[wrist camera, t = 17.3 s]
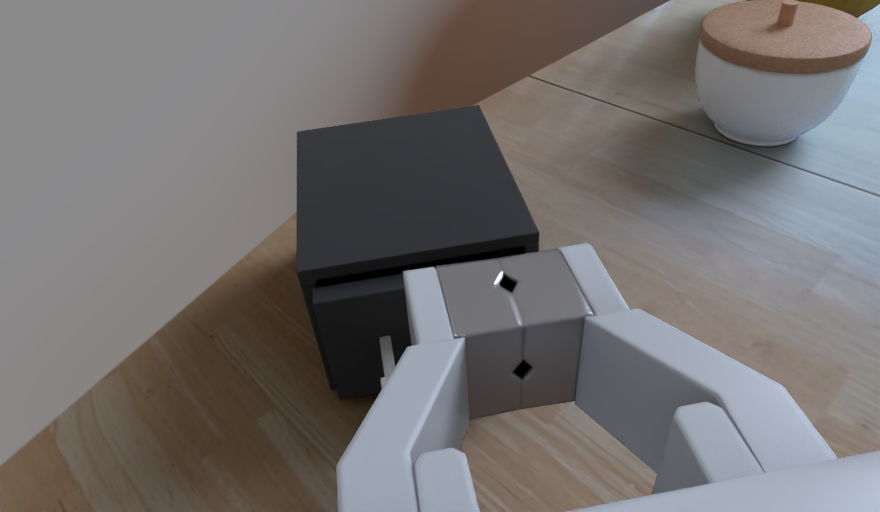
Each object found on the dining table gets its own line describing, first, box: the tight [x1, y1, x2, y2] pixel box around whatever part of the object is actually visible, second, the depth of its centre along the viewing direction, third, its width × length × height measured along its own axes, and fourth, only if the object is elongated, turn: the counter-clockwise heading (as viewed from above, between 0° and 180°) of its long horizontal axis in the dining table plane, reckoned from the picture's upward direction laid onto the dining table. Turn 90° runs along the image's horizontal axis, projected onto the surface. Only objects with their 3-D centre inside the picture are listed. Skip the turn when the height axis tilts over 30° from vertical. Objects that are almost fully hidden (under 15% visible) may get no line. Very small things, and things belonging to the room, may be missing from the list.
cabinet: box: [297, 105, 539, 390], centre depth 41 cm, size 15×13×10 cm
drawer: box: [312, 248, 526, 400], centre depth 38 cm, size 18×11×8 cm, turn 10°
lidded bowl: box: [695, 0, 872, 146], centre depth 54 cm, size 13×13×11 cm
